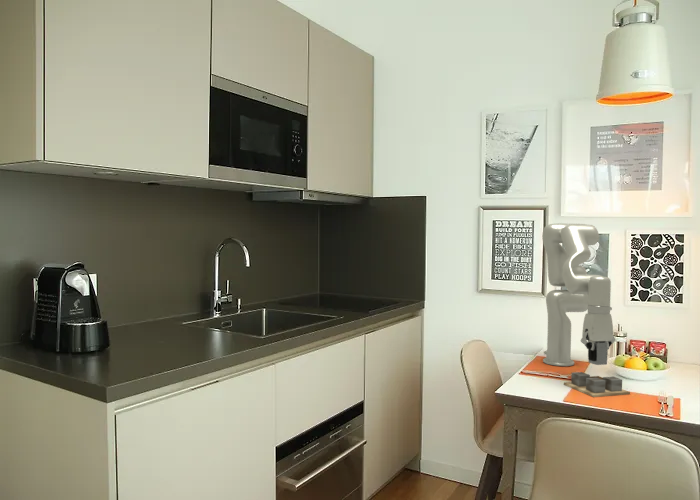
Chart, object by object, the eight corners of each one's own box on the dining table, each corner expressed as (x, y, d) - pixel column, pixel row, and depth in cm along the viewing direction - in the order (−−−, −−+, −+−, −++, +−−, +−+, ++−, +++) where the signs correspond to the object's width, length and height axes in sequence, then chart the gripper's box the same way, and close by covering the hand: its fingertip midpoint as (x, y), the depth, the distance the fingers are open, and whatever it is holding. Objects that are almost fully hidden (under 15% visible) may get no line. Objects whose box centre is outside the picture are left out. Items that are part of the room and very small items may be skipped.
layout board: (563, 384, 209) (564, 371, 209) (598, 382, 213) (598, 369, 213) (593, 397, 193) (593, 383, 193) (630, 394, 197) (630, 380, 197)
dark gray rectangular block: (588, 362, 209) (589, 340, 209) (598, 361, 210) (599, 340, 210) (596, 365, 204) (597, 342, 204) (607, 364, 206) (607, 342, 205)
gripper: (610, 308, 213) (609, 357, 213) (572, 309, 208) (571, 359, 209) (625, 311, 205) (624, 361, 206) (585, 312, 201) (584, 363, 201)
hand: (597, 359), depth 207 cm, fingers closed on dark gray rectangular block, 4 cm apart
